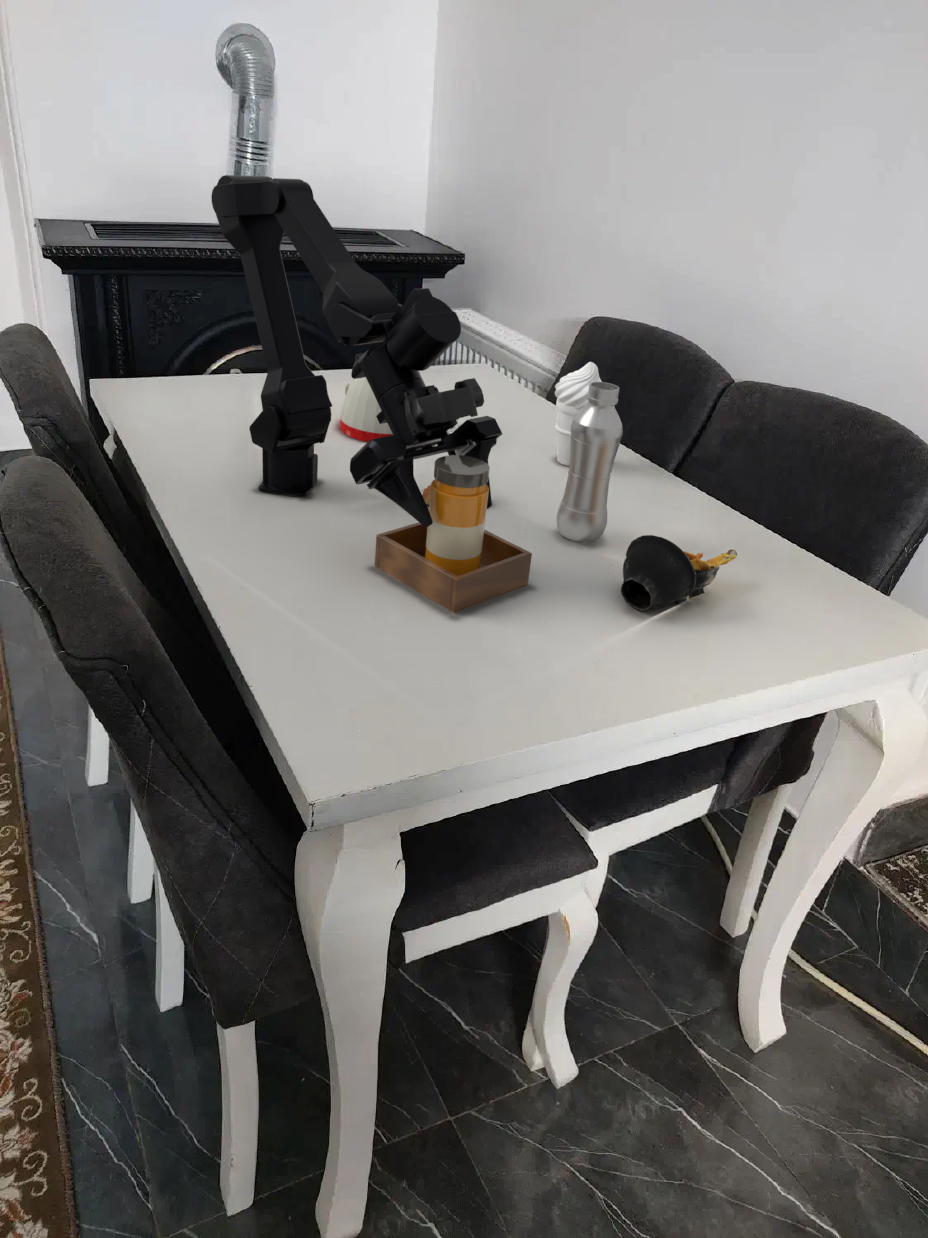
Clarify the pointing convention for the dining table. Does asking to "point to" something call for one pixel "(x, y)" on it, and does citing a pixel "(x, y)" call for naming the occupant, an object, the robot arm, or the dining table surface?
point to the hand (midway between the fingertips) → (459, 516)
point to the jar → (457, 513)
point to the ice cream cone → (571, 405)
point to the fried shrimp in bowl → (666, 572)
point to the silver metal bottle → (590, 465)
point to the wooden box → (407, 564)
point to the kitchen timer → (361, 413)
